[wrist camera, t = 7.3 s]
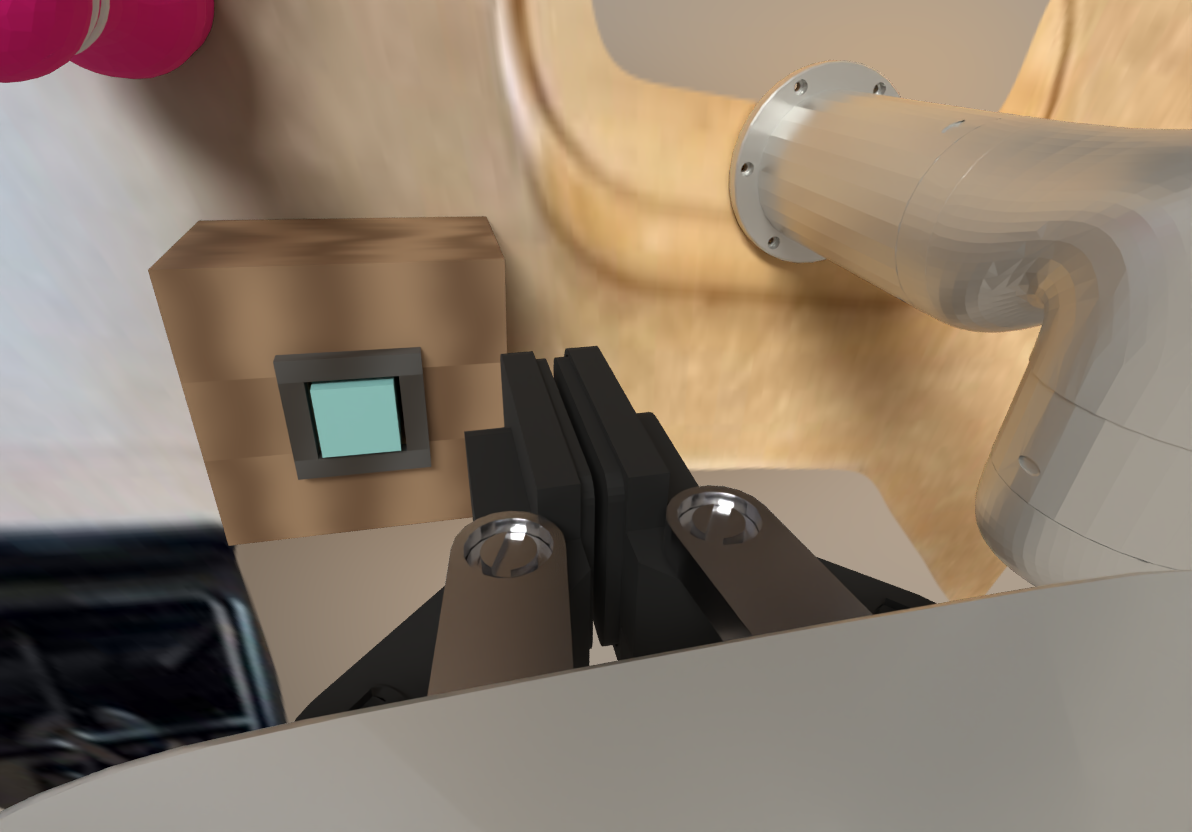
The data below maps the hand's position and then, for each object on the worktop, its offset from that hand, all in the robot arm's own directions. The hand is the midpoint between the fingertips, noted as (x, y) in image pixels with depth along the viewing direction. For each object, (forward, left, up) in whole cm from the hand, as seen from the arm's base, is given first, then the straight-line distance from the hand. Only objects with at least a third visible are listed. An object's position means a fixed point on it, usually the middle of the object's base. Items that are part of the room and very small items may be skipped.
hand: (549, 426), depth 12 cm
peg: (+6, +12, -32) cm, 35 cm away
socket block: (+6, +12, -32) cm, 35 cm away
